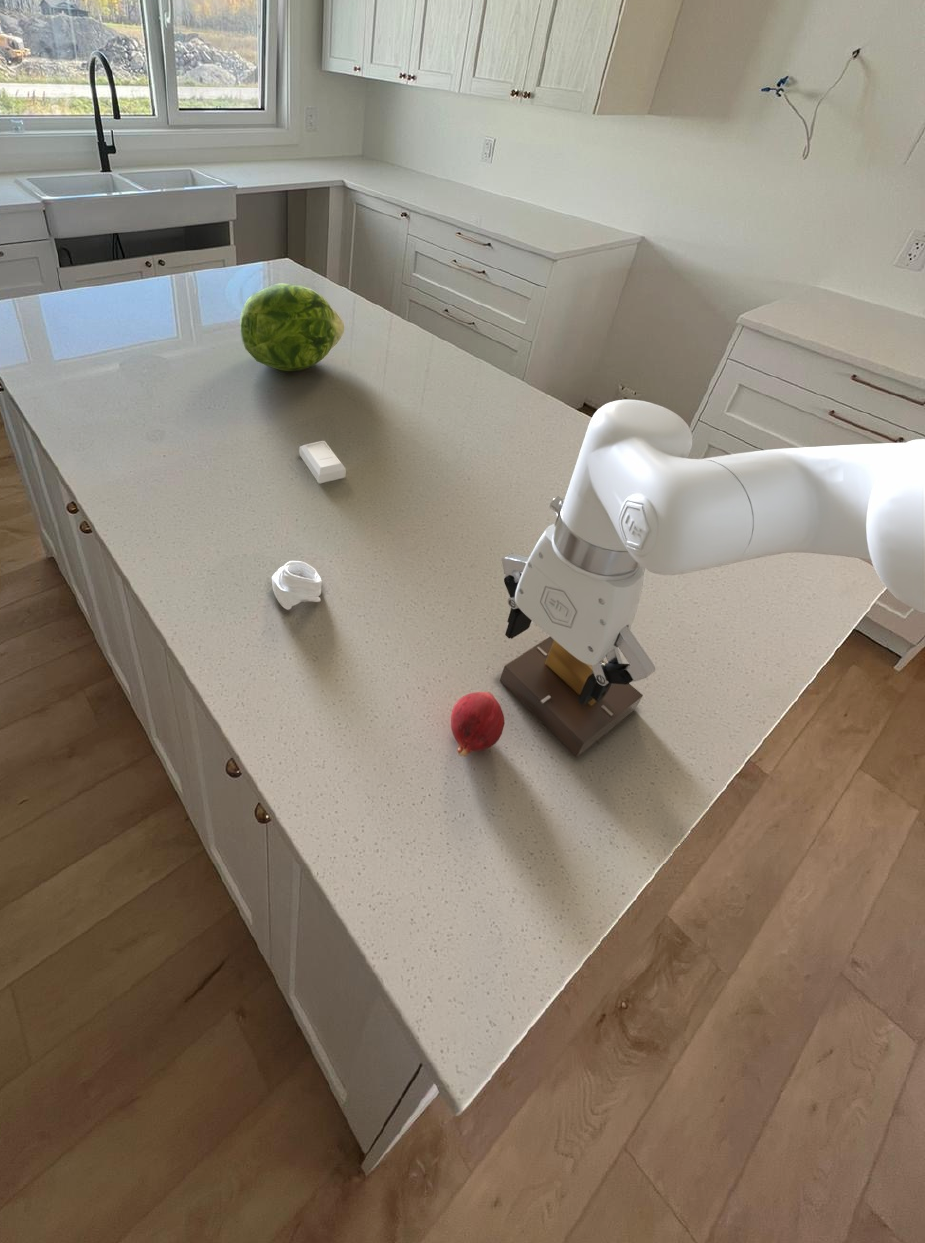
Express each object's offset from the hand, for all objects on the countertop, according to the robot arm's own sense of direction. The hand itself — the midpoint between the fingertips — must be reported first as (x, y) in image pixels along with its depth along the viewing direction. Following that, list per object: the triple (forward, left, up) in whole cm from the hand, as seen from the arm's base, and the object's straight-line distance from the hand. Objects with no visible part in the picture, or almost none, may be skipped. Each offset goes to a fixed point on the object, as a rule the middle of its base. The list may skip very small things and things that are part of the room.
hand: (551, 663), depth 65 cm
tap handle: (0, -8, -10) cm, 13 cm away
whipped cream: (+33, +11, -13) cm, 37 cm away
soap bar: (+55, -8, -13) cm, 58 cm away
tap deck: (0, -8, -13) cm, 15 cm away
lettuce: (+93, -24, -13) cm, 96 cm away
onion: (+5, +2, -9) cm, 10 cm away
